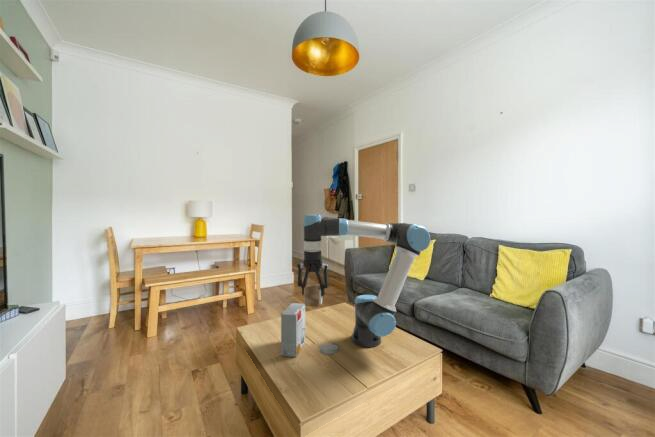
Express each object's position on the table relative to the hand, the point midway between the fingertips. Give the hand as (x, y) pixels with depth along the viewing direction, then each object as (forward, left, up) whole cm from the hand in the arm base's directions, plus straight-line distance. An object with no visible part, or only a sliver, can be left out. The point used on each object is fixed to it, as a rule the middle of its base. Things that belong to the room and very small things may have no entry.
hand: (313, 302), depth 117 cm
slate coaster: (-4, -13, -28) cm, 32 cm away
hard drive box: (+13, -10, -28) cm, 33 cm away
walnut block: (0, 0, 0) cm, 0 cm away
